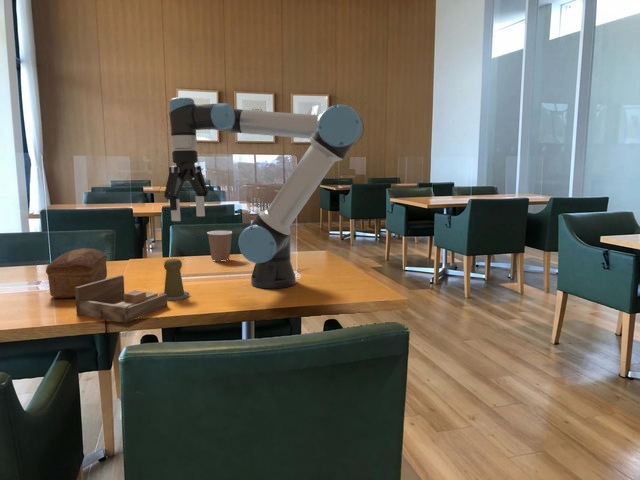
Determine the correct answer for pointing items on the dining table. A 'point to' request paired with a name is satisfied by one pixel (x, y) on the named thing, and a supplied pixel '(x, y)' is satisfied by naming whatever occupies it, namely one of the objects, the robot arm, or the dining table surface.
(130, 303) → the offcut
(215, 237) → the coffee cup
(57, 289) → the bread
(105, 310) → the tray
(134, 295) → the offcut
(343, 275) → the dining table surface
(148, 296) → the offcut
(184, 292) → the coaster
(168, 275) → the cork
